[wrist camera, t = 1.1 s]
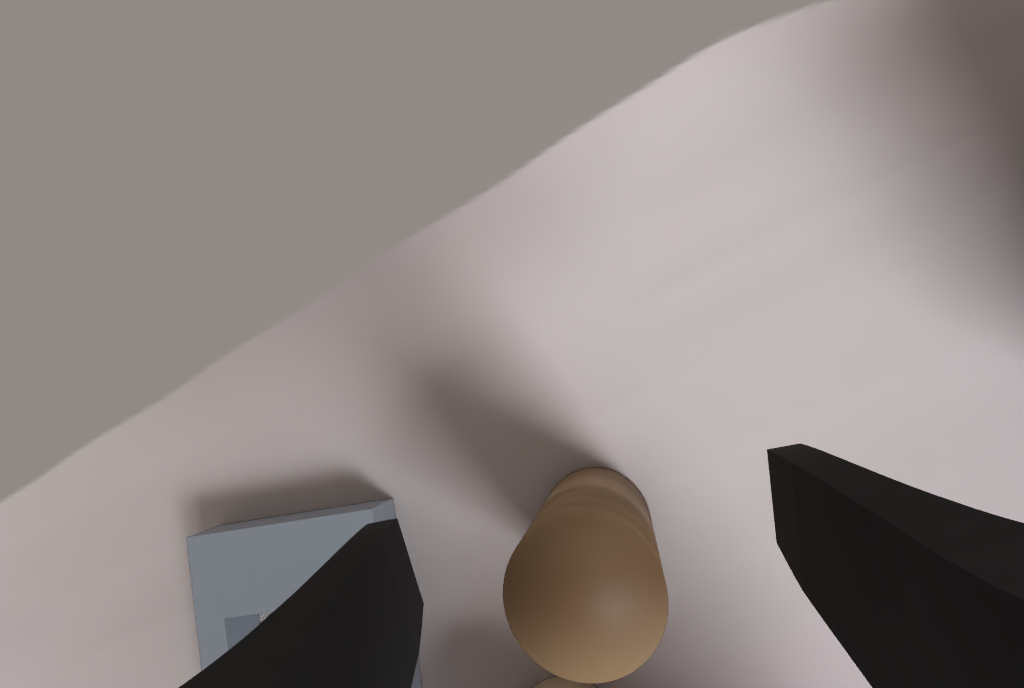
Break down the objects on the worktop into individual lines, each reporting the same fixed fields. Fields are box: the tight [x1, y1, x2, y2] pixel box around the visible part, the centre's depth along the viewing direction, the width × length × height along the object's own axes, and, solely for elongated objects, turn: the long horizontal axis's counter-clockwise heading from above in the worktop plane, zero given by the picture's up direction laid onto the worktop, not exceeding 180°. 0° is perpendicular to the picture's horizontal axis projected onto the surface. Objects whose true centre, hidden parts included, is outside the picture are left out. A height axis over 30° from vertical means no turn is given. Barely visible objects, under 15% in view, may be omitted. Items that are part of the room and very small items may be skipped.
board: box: [186, 498, 422, 688], centre depth 22 cm, size 12×8×2 cm, turn 10°
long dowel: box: [503, 467, 668, 684], centre depth 18 cm, size 4×4×8 cm
